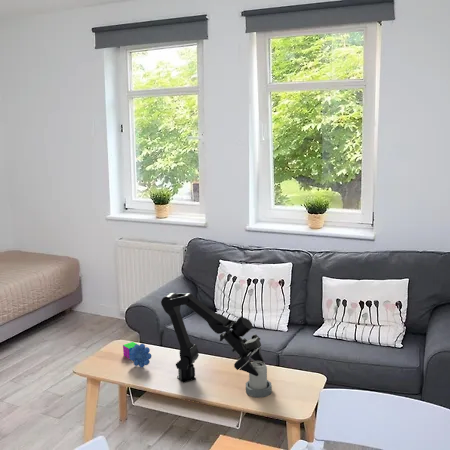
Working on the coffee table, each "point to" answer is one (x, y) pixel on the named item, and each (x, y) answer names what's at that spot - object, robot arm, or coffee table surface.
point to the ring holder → (259, 391)
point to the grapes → (140, 355)
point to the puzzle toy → (128, 349)
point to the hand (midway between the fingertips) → (261, 370)
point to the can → (261, 379)
